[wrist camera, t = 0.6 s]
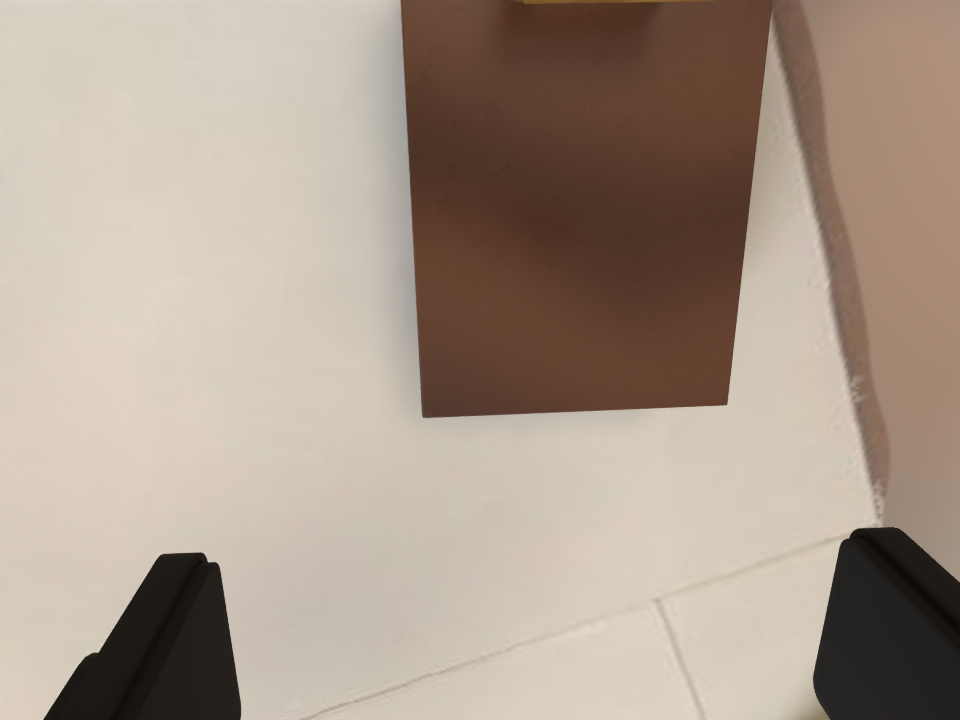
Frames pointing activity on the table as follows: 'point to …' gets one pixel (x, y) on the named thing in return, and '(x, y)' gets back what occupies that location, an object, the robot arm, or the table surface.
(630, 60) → the cover
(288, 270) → the table surface
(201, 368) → the table surface
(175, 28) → the table surface
